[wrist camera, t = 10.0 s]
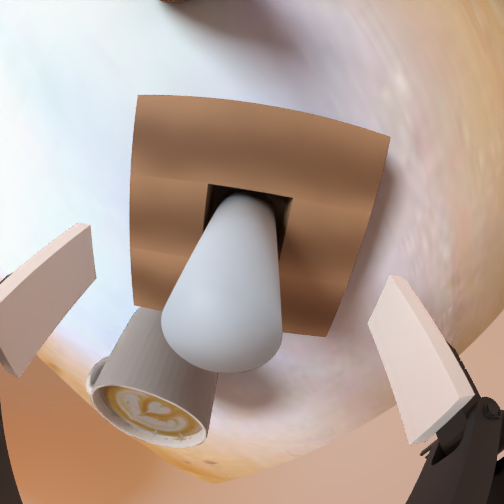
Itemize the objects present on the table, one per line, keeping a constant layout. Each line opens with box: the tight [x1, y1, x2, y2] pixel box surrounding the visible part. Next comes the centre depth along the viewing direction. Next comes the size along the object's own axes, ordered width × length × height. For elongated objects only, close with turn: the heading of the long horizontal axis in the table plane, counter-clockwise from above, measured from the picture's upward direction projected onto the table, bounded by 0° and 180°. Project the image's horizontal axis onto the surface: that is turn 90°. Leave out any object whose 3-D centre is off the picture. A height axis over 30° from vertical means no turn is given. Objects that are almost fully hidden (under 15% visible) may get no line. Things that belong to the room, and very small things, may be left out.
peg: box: [161, 188, 282, 373], centre depth 14 cm, size 4×4×12 cm
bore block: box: [130, 95, 391, 337], centre depth 19 cm, size 15×15×4 cm
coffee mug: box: [86, 307, 218, 448], centre depth 22 cm, size 13×10×10 cm
